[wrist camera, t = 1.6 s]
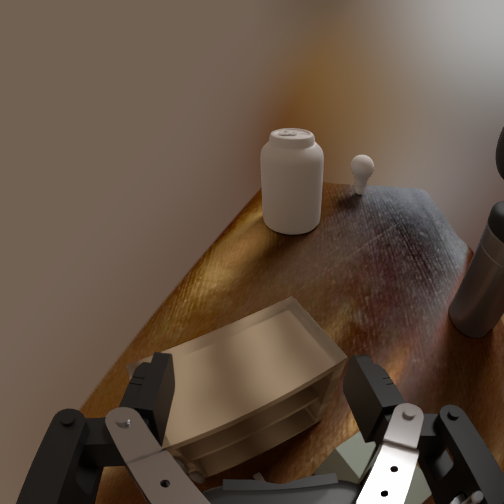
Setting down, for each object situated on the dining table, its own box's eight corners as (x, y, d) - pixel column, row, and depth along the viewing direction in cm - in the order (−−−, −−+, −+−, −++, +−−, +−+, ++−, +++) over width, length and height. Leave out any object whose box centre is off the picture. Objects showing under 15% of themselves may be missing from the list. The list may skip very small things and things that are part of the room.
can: (253, 229, 63) (248, 137, 51) (275, 202, 72) (273, 122, 60) (311, 241, 59) (316, 144, 46) (325, 212, 67) (330, 128, 55)
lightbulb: (374, 198, 72) (380, 159, 65) (356, 201, 71) (360, 160, 64) (361, 188, 77) (366, 150, 70) (343, 190, 76) (347, 152, 69)
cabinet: (286, 373, 36) (292, 296, 27) (373, 483, 23) (434, 452, 14) (157, 431, 30) (102, 373, 21) (226, 561, 17) (193, 589, 8)
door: (348, 450, 27) (384, 411, 19) (389, 497, 21) (445, 479, 13) (313, 473, 25) (335, 448, 17) (353, 524, 19) (398, 523, 11)
